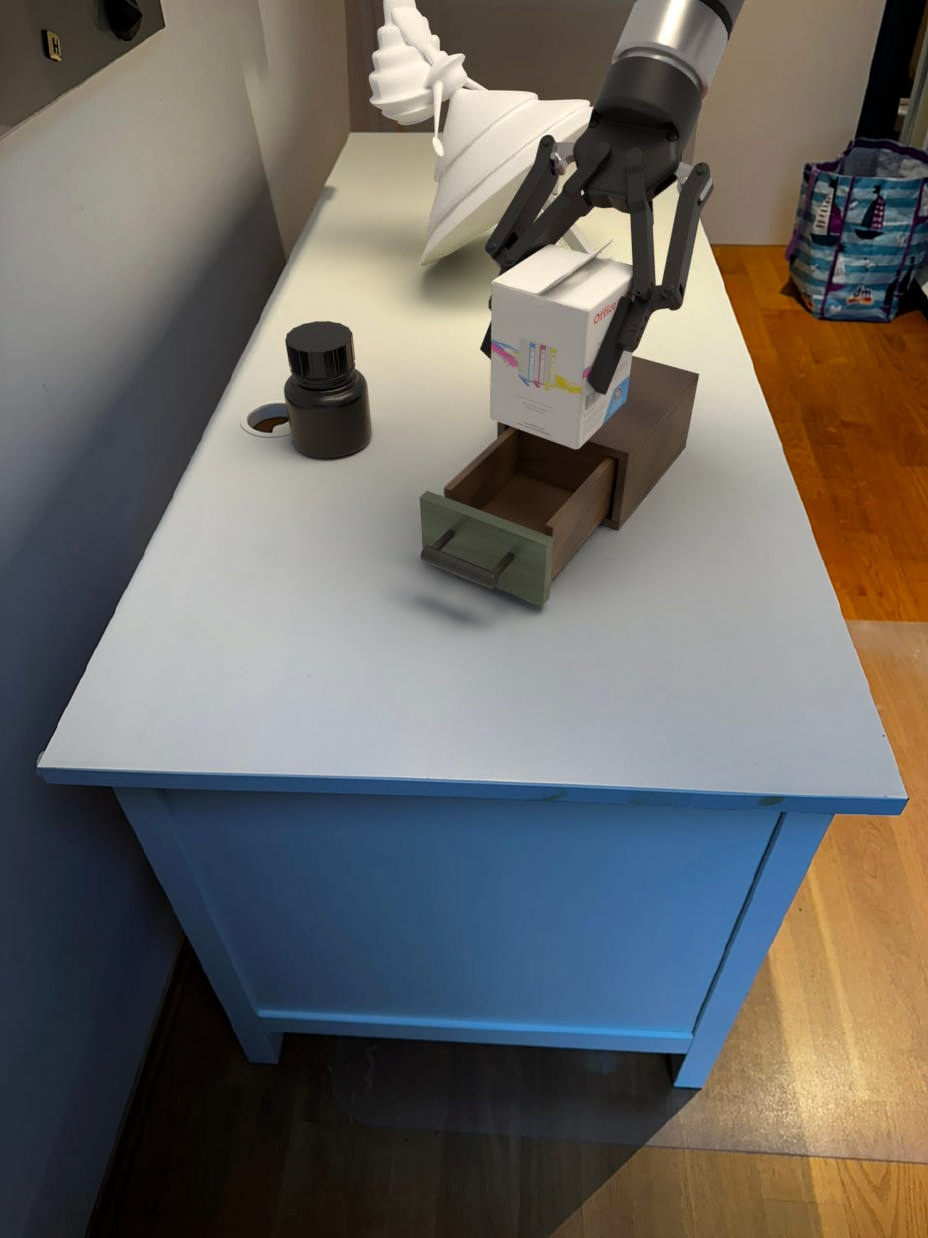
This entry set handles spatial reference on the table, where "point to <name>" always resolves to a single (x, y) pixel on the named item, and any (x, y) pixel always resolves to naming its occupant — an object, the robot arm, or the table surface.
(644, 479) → the cabinet
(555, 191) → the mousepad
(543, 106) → the figurine
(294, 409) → the ink bottle
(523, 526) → the drawer
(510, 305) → the ink box
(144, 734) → the table surface
